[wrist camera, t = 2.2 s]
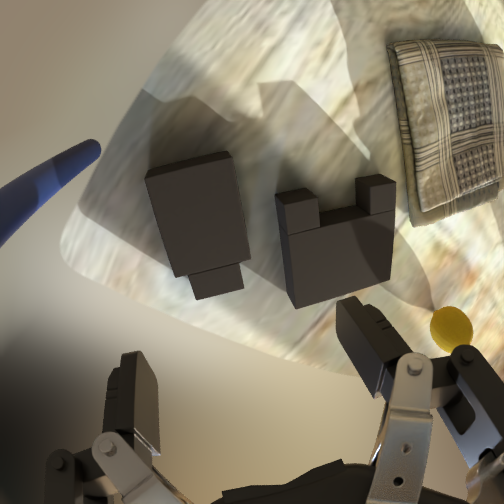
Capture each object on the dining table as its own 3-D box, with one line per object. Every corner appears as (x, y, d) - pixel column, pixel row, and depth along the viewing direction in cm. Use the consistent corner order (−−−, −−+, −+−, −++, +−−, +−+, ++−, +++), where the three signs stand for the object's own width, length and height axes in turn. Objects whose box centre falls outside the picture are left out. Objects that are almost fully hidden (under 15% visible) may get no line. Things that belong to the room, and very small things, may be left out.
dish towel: (377, 40, 20) (400, 37, 17) (490, 43, 20) (511, 45, 17) (405, 229, 29) (424, 243, 26) (500, 186, 30) (518, 195, 27)
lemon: (413, 324, 37) (446, 364, 30) (436, 291, 35) (474, 328, 28) (432, 329, 39) (463, 364, 32) (454, 299, 37) (488, 333, 30)
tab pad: (183, 286, 26) (184, 303, 24) (147, 170, 21) (143, 178, 19) (250, 269, 27) (256, 285, 25) (227, 150, 22) (232, 156, 20)
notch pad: (287, 293, 29) (295, 310, 27) (274, 194, 24) (283, 204, 22) (377, 267, 30) (390, 279, 28) (380, 173, 25) (396, 181, 23)
